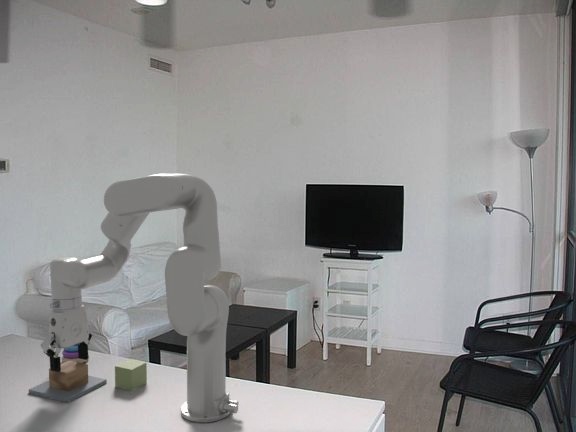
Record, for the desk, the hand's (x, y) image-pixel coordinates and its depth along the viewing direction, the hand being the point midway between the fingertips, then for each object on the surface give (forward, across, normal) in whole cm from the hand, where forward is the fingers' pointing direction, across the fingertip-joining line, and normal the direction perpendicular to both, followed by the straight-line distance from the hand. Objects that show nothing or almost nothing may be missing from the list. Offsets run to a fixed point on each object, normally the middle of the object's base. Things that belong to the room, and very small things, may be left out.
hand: (69, 364), depth 142 cm
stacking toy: (+6, +16, +15) cm, 23 cm away
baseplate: (+7, 0, +1) cm, 7 cm away
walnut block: (+6, 0, +1) cm, 6 cm away
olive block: (+7, +9, -13) cm, 17 cm away
